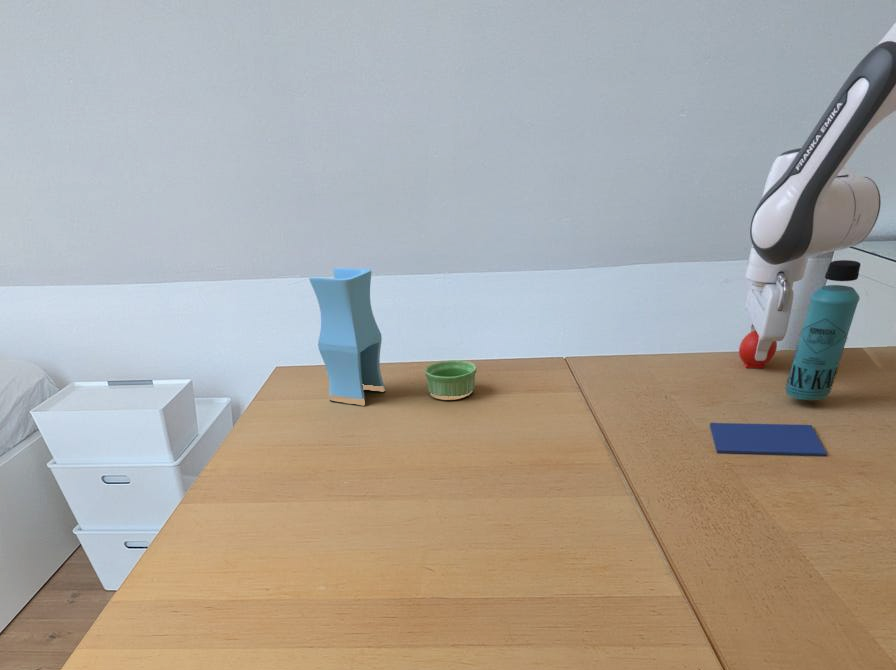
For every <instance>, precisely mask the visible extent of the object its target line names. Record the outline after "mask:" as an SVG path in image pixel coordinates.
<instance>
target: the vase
mask: <svg viewBox="0 0 896 670" xmlns="http://www.w3.org/2000/svg"><path fill="white" fill-rule="evenodd" d="M332 272H333V277H314V276H312V277H308V280H309V282H310V285H311V287H312V289H313V291H314V294H315V296H316V301H317V302H318V306H319V311H320V331H319V336H318V342H317V347H318V351H319V354H320V356H321V358H322V360H323V361H322V362H323V364H324V366H325V369H326V373H327V376H328V385H329V396H330V395H334V396H341V397H349V398H357V399H363V398H365V399H366V397H365V392H364V391H365V390H363V385H362V384H364V385H373V386H385V384H384V381H383V377H382V372H381V366H380V362H381V361H380V359H381V356H380V355H381V349H382V348H381V347H382V342H383V341H382V340H383V338H382V332H381V330H380V328H379V326H378V324H377V321H376V318H375V316H374V313H373V310H372V309H373V308H372V303H371V281H372V270H371V269H369V268H350V267H334V268H333V269H332Z"/></svg>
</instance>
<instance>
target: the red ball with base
mask: <svg viewBox="0 0 896 670" xmlns="http://www.w3.org/2000/svg"><path fill="white" fill-rule="evenodd" d="M758 338H759V336H758V334H757V332H756V330H755V331H752V332H750V331H749V333H747V334H746V335H745V336H744V337H743V338H742V340H741V342H740V344H739V348H738V355H739V358H740V360H741V361H742V362H743V365H744V367H745V368H746V369H764V368H765V367H766V366H765V365H766V364H767V363H768V362H770V361H771V360H772V358H773V357H774V356H775V354H776V352H777V349H778V341H773V342H772V344H771V346H770V348H769V350H768V354H767V358H766V360H764V361H756V360H755V357H754V354H755V349H756V348H757V345H758V341H759V339H758Z"/></svg>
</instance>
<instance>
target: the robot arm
mask: <svg viewBox="0 0 896 670" xmlns="http://www.w3.org/2000/svg"><path fill="white" fill-rule="evenodd" d="M895 112H896V21H895V22H894V23H893V25H892V26H891V27H890V28H889V30H888V31H887V32H886V34H885V35H884V36H883V38H881V39H880V40H879V42H878V43H877V44H875V46H874V47H873V48H872V49H871V50H870V51H869V52H868V53H867V54H866V55H865V56H864V57H863V58H862V59H861V60H860V61H859V62H858V64H857V65H856V66H855V68H854V69H853V70H852V71H851V73H850V74H849V76H848V77H847V78H846V80H845V81H844V82H843V84H842V86H841V87H840V88H839V90H838V91H837V93H836V94H835V96H834V97H833V99H832V100H831V102H830V103H829V105H828V106H827V108H826V110H825V111H824V112H823V114H822V115H821V117H820V118H819V120H818V122H817V123H816V125H815V126H814V128H813V130H812V131H811V133H810V134H809V135H808V136H807V138H806V139H805V142H804V143H803V145H802V146H801V147H799V148H794V149H790V150H785V151H784V152H781V154H779V155H778V156H777V157H776V158H775V159H774V161H773V163H772V165H771V168H770V170H769V172H768V174H767V178H766V180H765V185H764V188H763V191H762V196H761V199H760V201H759V202H758V204H757V205H756V208H755V210H754V212H753V215H752V218H751V221H750V227H749V235H750V241H751V247H750V252H749V255H748V259H747V264H746V271H745V278H746V279H747V282H746V283H747V285H746V292H745V298H744V310H745V312H746V314H747V316H748V319H749V320H750V323H749V333H750V332H752V331H755V330H756V332H757V334H758V336H759V338H758V339H759V341H758V345H757V348H756V349H755V354H754V357H755V360H756V361H764V360H766V358H767V354H768V350H769V348H770V346H771V344H772V342H773V341H777V342H781V341H783V340H785V339H784V338H785V337H786V335H787V332H788V327H789V323H790V318H791V313H792V308H793V302H794V297H795V296H794V294H795V293H794V290H793V287H794V283H795V282H799V281H801V280H803V279H804V277H805V274H806V269H807V266H808V261H809V257H813V256H819V255H823V254H827V253H830V252H837V251H842V250H847V249H849V248H851V247H854V246H857V245H859V244H860V243H862V242H863V241H864V240H865V239H866V238H867V237H868V236H869V234H870V233H871V232H872V230H873V229H874V227H875V225H876V223H877V221H878V218H879V216H880V212H881V205H882V204H881V201H882V200H881V193H880V190H879V187H878V185H877V184H876V182H875V181H874V180H873V179H872V178H870V177H868V176H862V175H860V174H858V173H856V172H855V171H852V170H850V169H849V168H847V167H845V166H846V164H847V163H848V161H849V160H850V159H851V157H852V156H853V154H854V153H855V152H856V150H857V149H858V148H859V146H860V144H861V143H862V142H863V141H864V139H865V138H866V137H867V136H868V134H869V133H870V132H871V131H872V130H873V129H874V128H875V127H876V126H878V124H880V123H881V122H882V121H883V120H884V119H886V118H887V117H889V116H890V115H891V114H894V113H895Z"/></svg>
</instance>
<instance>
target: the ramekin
mask: <svg viewBox="0 0 896 670" xmlns="http://www.w3.org/2000/svg"><path fill="white" fill-rule="evenodd" d="M476 373H477V365H476V364H475V363H473V362H470V361H467V360H461V359H459V360H458V359H455V360H454V359H453V360H451V359H450V360H443V361H438V362H434V363H431V364H429V365H427V366H426V367H425V368H424V374H425V377H426V383H427V391H428V390H429V391H428V393H429V392H430V393H432V394H434V395H438V396H448V397H449V396H461V395H465V394H468V393H470V392H471V391H473V390H474V391H475V387H476V385H475V382H476Z"/></svg>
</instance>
